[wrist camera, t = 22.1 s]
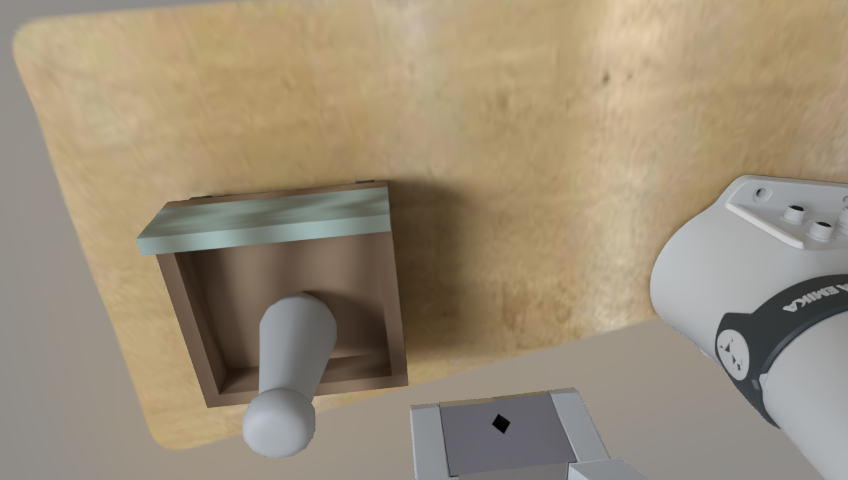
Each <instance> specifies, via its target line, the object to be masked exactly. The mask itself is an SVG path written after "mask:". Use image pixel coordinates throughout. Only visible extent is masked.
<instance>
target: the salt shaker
mask: <svg viewBox="0 0 848 480" xmlns="http://www.w3.org/2000/svg"><path fill="white" fill-rule="evenodd" d="M336 340H337V323H336V320H335V318H334V316H333V315H332V313H331V311H330V309H329V308H328V306H327V305H326V303H325V302H324V301H323V300H322V299H320V298H317V297H315V296H313V295H310V294H308V293H305V292H303V291H300V292H298V293H295V294H293V295H290V296H287V297H285V298H282V299H280V300H279V301H277V302H276V303H274V304H273V305H271V306H270V307H268V309H267V310H266V312H265V314H264V316H263V318H262V320H261V322H260V367H259V395H257V396H256V397H254V398H253V399H252V401H251V402H250V404H249V406H248V408H247V410H246V412H245V414H244V417H243V438H244V440H245V441H246V442H247V444H248V445H249V446H250V447H251V449H253V450H254V451H256V452H257V453H259V454H261V455H263V456H265V457H272V458H283V457H289V456H293V455H295V454H297V453H298V452H300V451H302V450H303V449H305V448H306V447H307V445H308V444H309V442H310V441H311V439H312V438H313V435H314V432H315V409H314V407H313V405H312V404H311V402H312V400H313V397H314V395H315V392H316V390H317V387H318V385H319V382H320V380H321V378H322V375H323V373H324V370H325V368H326V365H327V363H328V360H329V358H330V355H331V353H332V350H333V348H334V345H335V343H336Z"/></svg>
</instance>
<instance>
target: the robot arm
mask: <svg viewBox="0 0 848 480" xmlns="http://www.w3.org/2000/svg"><path fill="white" fill-rule="evenodd" d="M759 189H761V190H760V192H759V193H757V194H756V192H757V191H758V190H759ZM650 295H651V300H652V304H653V306H654V309H655V311H656V312H657V314H658V315H659V317H660V318H661V319H662V320H663V321H664V322H665V323H666V324H667V325H669V326H671V327H672V328H674V329H675V330H677V331H678V332H680V333H681V334H683V335H684V336H685V337H687V338H688V339H689V340H691V341H692V342H693V343H694V345H695V346H696V347H697V348H698V349H699V350H700V351H701V352H702V353H703V354H704V355H705V356H707V357H709V358H712V359H713V360H714V361H715V362H716V363H717V364H719V365H720V366H721V367H722V368H723V369H724V370H725V371H726V373H727V374H728V376H729V377H730V379H731V380H732V382H733V383H734V385H735V386H736V387H737V389H738V390H739V391H740V392H741V393H742V394H743V395H744V397H745V398H746V399H747V400H748V401H749V402H750V403H751V405H752V406H753V407H754V408H755V409H756V410H757V412H758V413H759V414H760V415H762V416H763V418H765V420H767V422H769V423H770V424H772V425H773V426H775V427H777V428H779V429H781V430H782V431H783V432H784V433H785V434H786V435H787V436H788V437H789V439H790V440H791V441H792V442H793V443H794V444H795V446H796V447H797V448H798V449H799V450H800V451H801V453H803V455H804V456H805V457H806V458H807V459H808V461H809V462H810V463H811V464H812V465H813V466H814V467H815V468H816V470H817V471H818V472H819V473H820V474H821V475H822V477H823V478H824V479H825V480H848V184H841V183H831V182H821V181H810V180H800V179H790V178H779V177H769V176H758V175H743V176H741V177H739V178H737V179H736V180H735V181H733V182H732V183H731V184H730V185H729V186H728V188H727V189H726V190H725V191H724V192H723V193H722V195H721V196H720V197H719V198H718V200H717V201H716V202H715V203H714V204H713V205H712V206H710V207H709V208H708V209H706V210H705V211H703V212H702V213H700V214H699V215H697V216H695V217H694V218H693V219H691V220H690V221H688V222H687V223H686V224H685V225H683V226H682V227H681V228H680V229H679V230H678V231H677V232H676V233H675V234H674V235H673V236H672V237H671V239H670V240H669V241H668V242H667V244H666V245H665V246H664V248H663V249H662V251H661V253H660V254H659V256H658V258H657V260H656V263H655V265H654V268H653V271H652V275H651V281H650ZM410 417H411V430H412V443H413V455H414V467H415V480H650V479H649V478H648V477H646V476H645V475H643V474H642V473H640V472H639V471H637V470H636V469H635V468H633V467H632V466H630V465H629V464H627V463H626V462H624V461H623V460H622V459H620V458H614V459H613V458H612V459H611V458H610V456H609V454H608V452H607V450H606V448H605V446H604V444H603V442H602V440H601V437H600V436H599V433H598V431H597V429H596V427H595V425H594V423H593V421H592V419H591V417H590V415H589V413H588V411H587V409H586V407H585V404H584V402H583V400H582V398H581V396H580V394H579V392H578V390H576V389H575V388H574V387H571V388H564V389H555V390H548V391H546V392H545V391H540V392H532V393H524V394H516V395H507V396H499V397H492V398H483V399H471V400H459V401H448V402H439V405H438V403H433V404H421V405H411V408H410Z"/></svg>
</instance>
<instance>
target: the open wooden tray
mask: <svg viewBox="0 0 848 480" xmlns="http://www.w3.org/2000/svg"><path fill="white" fill-rule="evenodd" d="M136 241H137V244H138V247H139V250H140V253H141V255H142V256H144V255H154V254H156V257H157V260H158V263H159V266H160V269H161V272H162V275H163V277H164V280H165V283H166V286H167V289H168V292H169V295H170V298H171V301H172V304H173V307H174V310H175V313H176V316H177V319H178V322H179V325H180V328H181V331H182V334H183V337H184V340H185V343H186V346H187V349H188V352H189V354H190V357H191V360H192V363H193V366H194V369H195V372H196V375H197V378H198V381H199V384H200V387H201V390H202V393H203V396H204V399H205V402H206V405H207V408H211V407H220V406H229V405H238V404H247V403H250V402H251V401H252V399H253V398H254V397H256V396H257V395H259V367H260V322H261V320H262V318H263V316H264V314H265V312H266V310H267V309H268V307H270V306H271V305H273V304H274V303H276V302H277V301H279V300H280V299H282V298H285V297H287V296H290V295H293V294H295V293H298V292H300V291H303V292H305V293H308V294H310V295H313V296H315V297H317V298H320V299H322V300H323V301H324V302H325V303H326V305H327V306H328V308H329V309H330V311H331V313H332V315H333V316H334V318H335V320H336V323H337V340H336V343H335V345H334V348H333V350H332V353H331V355H330V358H329V360H328V363H327V365H326V368H325V370H324V373H323V375H322V378H321V380H320V382H319V385H318V387H317V390H316V392H315V395H314V396H320V395H329V394H338V393H347V392H356V391H365V390H374V389H383V388H392V387H402V386H408V374H407V361H406V350H405V340H404V331H403V322H402V313H401V304H400V294H399V285H398V276H397V267H396V257H395V248H394V239H393V230H392V220H391V211H390V202H389V193H388V184H387V181H381V182H375V180H370V181H359V182H356V184H350V185H339V186H329V187H318V188H308V189H298V190H287V191H277V192H266V193H256V194H245V195H235V196H224V197H213V196H202V197H192V198H190V199H189V200H182V201H172V202H167V203H166V205H165V206H164V207H163V208H162V209H161V210H160V212H159V213H158V214H157V215H156V216H155V217H154V219H153V220H152V221H151V222H150V223H149V224H148V226H147V227H146V228H145V229H144V230H143V231H142V232H141V234H140V235H139V236H138V237H137V238H136Z"/></svg>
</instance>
